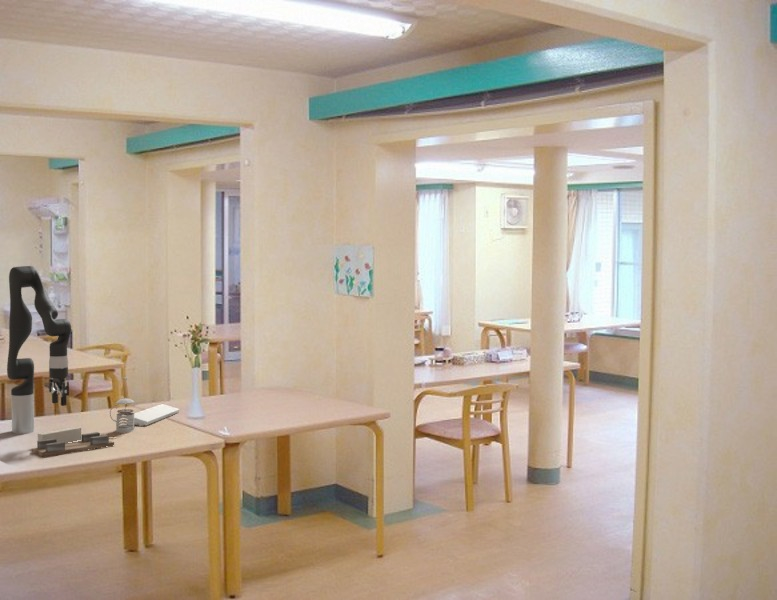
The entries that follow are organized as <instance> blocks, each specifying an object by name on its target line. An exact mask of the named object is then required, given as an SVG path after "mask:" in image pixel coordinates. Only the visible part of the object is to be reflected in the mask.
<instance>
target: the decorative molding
mask: <svg viewBox="0 0 777 600" xmlns="http://www.w3.org/2000/svg"><path fill="white" fill-rule="evenodd" d="M179 412H180V408H177V407H174V406H170V405H167V404H165V403H164V404H163V403H161V404H158V405H154V406H151V407H149V408H147V409H144V410H141V411H138V412H135V413H134V425H136V426H139V427H143V426H146V427H147V426H148V425H151V424H153V423H157V422H159V421H161V420H164V419H166V418H168V417H171V416H173V415H177V414H178V413H179ZM127 420H128V421H133V420H129V419H127ZM127 423H129V422H127ZM129 424H132V423H129Z"/></svg>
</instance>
